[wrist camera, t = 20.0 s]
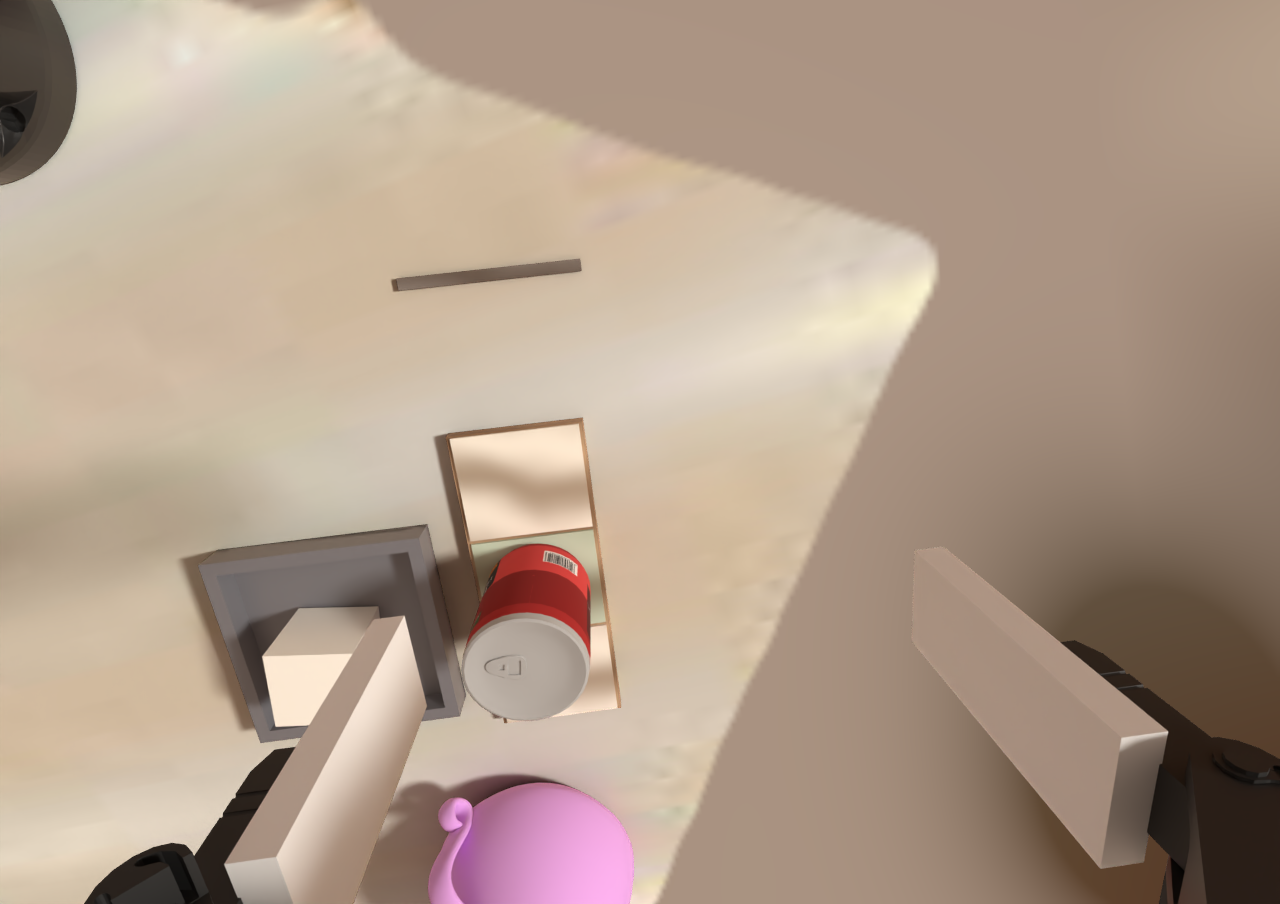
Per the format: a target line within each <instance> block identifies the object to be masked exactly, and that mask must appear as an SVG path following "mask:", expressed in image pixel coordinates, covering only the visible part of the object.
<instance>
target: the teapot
mask: <svg viewBox="0 0 1280 904" xmlns="http://www.w3.org/2000/svg"><path fill="white" fill-rule="evenodd" d="M438 819H439V822H440V825H441V826H442V828H443V829H444V830H446V831H447V832H450V833H449V834H448V836H447V838H446V840H445V841H444V844H443V846H442V849H441V851H440V853H439V854H438V856H437V858H436V860H435V862H434V864H433V867H432V869H431V872H430V876H429V882H428V894H429V899H430V902H431V904H630V899H631V894H632V886H633V878H634V857H633V850H632V845H631V842H630V840H629V837H628V835H627V833H626V831H625V829H624V828H623V826H622V824H621V823H620V821H619V820H618V819H617V818H616V817H615V815H614V814H613V813H611V812H610V811H609V810H608V809H607V808H606V807H605V806H603V805H602V804H601V803H599V802H598V801H596V800H595V799H593V798H592V797H590V796H589V795H587V794H585V793H583V792H581V791H579V790H577V789H574V788H571V787H568V786H564V785H560V784H554V783H528V784H523V785H518V786H515V787H511V788H508V789H506V790H503V791H501V792H498V793H496V794H494V795H492V796H490V797H489V798H487V799H485V800H483V801H482V802H480V803H479V804H477V805H476V806H474V807H473V808H472V806H471V804H470V803H469V801H467V800H466V799H464V798H459V797H455V798H450V799H448V800H447V801H445V802H444V804H443V805H442V806H441V808H440V810H439V813H438Z"/></svg>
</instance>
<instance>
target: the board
mask: <svg viewBox="0 0 1280 904" xmlns="http://www.w3.org/2000/svg"><path fill="white" fill-rule="evenodd" d="M575 271H582V270H581V262H580V259H573V260H564V261H555V262H546V263H536V264H527V265H518V266H508V267H499V268H490V269H481V270H471V271H462V272H453V273H444V274H434V275H425V276H416V277H406V278H397V279H396V281H397V286H398V290H399V291H400V290H409V289H418V288H428V287H437V286H446V285H455V284H465V283H474V282H483V281H492V280H501V279H511V278H520V277H529V276H538V275H547V274H557V273H566V272H575ZM446 441H447V446H448V451H449V456H450V461H451V466H452V470H453V475H454V480H455V485H456V490H457V495H458V500H459V504H460V509H461V514H462V519H463V524H464V529H465V534H466V539H467V543H468V548H469V553H470V558H471V563H472V568H473V573H474V578H475V582H476V587H477V592H478V597H479V602H481V599H482V596H483V593H484V590H485V587H486V584H487V582H488V579H489V576H490V573H491V571H492V569H493V568H494V566H495V565H496V564H497V563H498V562H499V561H500V560H501V559H502V558H503V557H504V556H505V555H507V554H508V553H510V552H511V551H513V550H514V549H517V548H519V547H521V546H525V545H529V544H549V545H553V546H557V547H560V548H562V549H564V550H566V551H568V552H569V553H571V554H572V555H573V556H574V557H576V559H577V560H578V561H579V562H580V563H581V564H582V566H583V567H584V569H585V571H586V573H587V574H588V578H589V581H590V590H591V657H590V670H589V676H588V681H587V684H586V686H585V689H584V691H583V692H582V694H581V695H580V697H579V698H578V699H577V700H576V701H575V702H574V703H573V704H572V705H571V706H570V707H569V708H567V709H565V710H564V711H562V712H561V713H559V714H556V715H554V716H551V717H556V716H563V715H571V714H578V713H586V712H593V711H600V710H608V709H615V708H621V699H620V691H619V684H618V676H617V669H616V662H615V654H614V647H613V639H612V632H611V624H610V617H609V610H608V602H607V595H606V587H605V580H604V573H603V565H602V558H601V550H600V543H599V535H598V528H597V521H596V513H595V506H594V498H593V491H592V483H591V476H590V469H589V461H588V454H587V446H586V439H585V432H584V424H583V418H576V419H567V420H559V421H550V422H542V423H533V424H525V425H516V426H508V427H499V428H491V429H482V430H473V431H465V432H456V433H449V434H448V435H447V436H446ZM503 719H504V723H511V722H519V721H517V720H510V719H506V718H503Z"/></svg>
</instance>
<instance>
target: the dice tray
mask: <svg viewBox="0 0 1280 904" xmlns="http://www.w3.org/2000/svg"><path fill="white" fill-rule="evenodd" d="M198 567H199V570H200V573H201V576H202V579H203V582H204V584H205V587H206V590H207V593H208V596H209V599H210V601H211V604H212V607H213V610H214V613H215V616H216V618H217V621H218V624H219V627H220V630H221V633H222V635H223V638H224V641H225V644H226V647H227V650H228V652H229V655H230V658H231V661H232V664H233V667H234V669H235V672H236V675H237V678H238V681H239V683H240V686H241V689H242V692H243V695H244V698H245V700H246V703H247V706H248V709H249V712H250V715H251V717H252V720H253V723H254V726H255V729H256V732H257V734H258V737H259V740H260V743H264V742H272V741H279V740H287V739H294V738H301V737H302V736H303V734H304V733H305V731H306V729H307V728H308V726H309V725H306V726H282V727H276V726H275V721H274V716H273V711H272V705H271V700H270V695H269V689H268V684H267V679H266V674H265V668H264V663H263V658H262V656H263V655H264V654H265V652H266V651H267V650H268V648H269V647H270V646H271V644H272V643H273V642H274V640H275V639H276V638H277V636H278V635H279V634H280V632H281V631H282V630H283V628H284V627H285V626H286V625H287V623H288V622H289V621H290V619H291V618H292V617H293V615H294V614H295V613H296V611H297V610H298V609H299V608H330V607H372V606H379V615H380V619H381V618H388V617H396V616H405V620H406V624H407V628H408V632H409V636H410V640H411V644H412V648H413V652H414V656H415V660H416V664H417V668H418V672H419V676H420V680H421V684H422V688H423V692H424V696H425V700H426V704H427V707H426V710H425V713H424V715H423V718H422V721H428V720H436V719H443V718H451V717H458V716H460V714H461V711H462V707H463V704H464V701H465V697H466V694H465V690H464V685H463V681H462V676H461V672H460V667H459V663H458V658H457V654H456V649H455V645H454V641H453V636H452V632H451V627H450V623H449V618H448V614H447V609H446V605H445V600H444V596H443V591H442V587H441V583H440V578H439V574H438V569H437V565H436V560H435V556H434V551H433V547H432V542H431V538H430V534H429V529H428V525H427V524H426V525H418V526H410V527H402V528H394V529H386V530H377V531H369V532H361V533H353V534H345V535H337V536H329V537H320V538H312V539H304V540H296V541H288V542H280V543H271V544H263V545H255V546H247V547H239V548H231V549H222V550H217V551H216V552H214V553H213V554H212V555H211V556H209V557H208V558H207V559H205V560H204V561H203V562H201V563H200V564H199V565H198Z"/></svg>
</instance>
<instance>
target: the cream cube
mask: <svg viewBox="0 0 1280 904" xmlns="http://www.w3.org/2000/svg"><path fill="white" fill-rule="evenodd" d="M374 619H380V615H379V606H372V607H330V608H299V609H298V610H297V611H296V613H295V614H294V615H293V617H292V618H291V619H290V621H289V622H288V623H287V625H286V626H285V627H284V628H283V630H282V631H281V632H280V634H279V635H278V636H277V638H276V639H275V640H274V642H273V643H272V644H271V646H270V647H269V648H268V650H267V651H266V652H265V654H264V655H263V656H262V658H263V663H264V668H265V674H266V679H267V684H268V689H269V695H270V700H271V705H272V711H273V716H274V721H275V726H276V727H282V726H306V725H309V724H310V723H311V721H312V720H313V718H314V716H315V715H316V713H317V711H318V710H319V708H320V706H321V705H322V703H323V702H324V700H325V698H326V697H327V695H328V693H329V692H330V690H331V688H332V687H333V685H334V684H335V682H336V680H337V679H338V677H339V675H340V674H341V672H342V670H343V669H344V667H345V666H346V664H347V662H348V661H349V659H350V657H351V656H352V654H353V652H354V651H355V649H356V648H357V646H358V644H359V643H360V641H361V639H362V638H363V636H364V634H365V633H366V631H367V630H368V628H369V626H370V625H371V623H372V621H373V620H374Z"/></svg>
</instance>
